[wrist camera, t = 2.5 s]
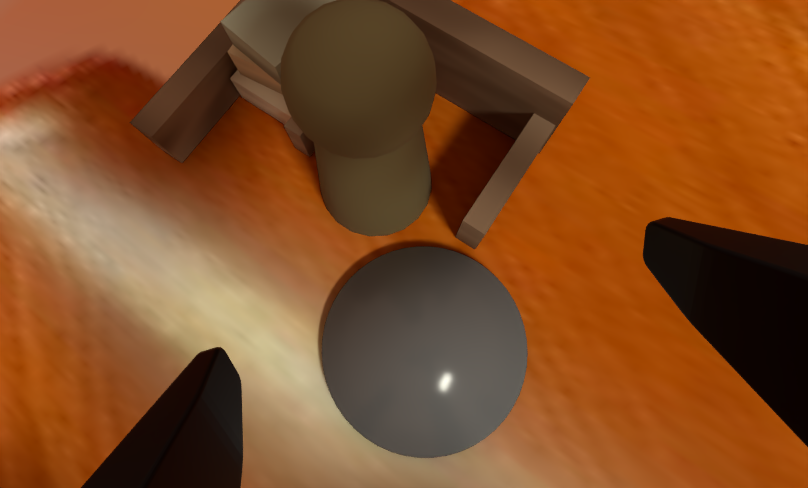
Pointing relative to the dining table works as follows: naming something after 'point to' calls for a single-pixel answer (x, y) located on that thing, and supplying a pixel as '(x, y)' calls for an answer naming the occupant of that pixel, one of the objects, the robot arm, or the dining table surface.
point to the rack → (456, 81)
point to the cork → (363, 110)
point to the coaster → (424, 352)
